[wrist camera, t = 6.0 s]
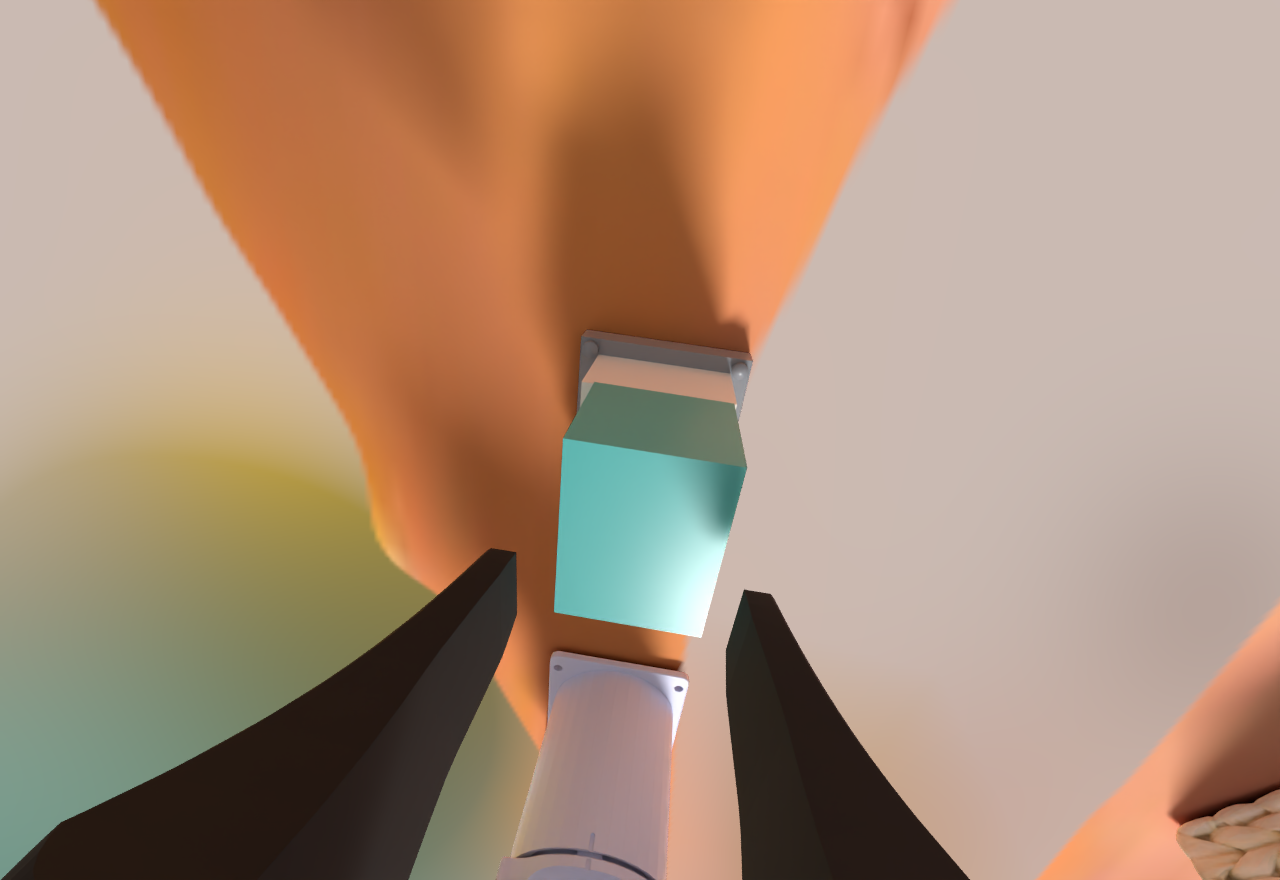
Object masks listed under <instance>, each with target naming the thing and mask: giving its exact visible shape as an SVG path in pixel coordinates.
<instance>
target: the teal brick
mask: <svg viewBox="0 0 1280 880" xmlns="http://www.w3.org/2000/svg"><path fill="white" fill-rule="evenodd" d="M746 470H747V465H746V460H745V455H744V449H743V444H742V439H741V434H740V429H739V424H738V419H737V414H736V409H735V404H734V403H728V402H721V401H715V400H708V399H702V398H696V397H689V396H683V395H676V394H670V393H663V392H657V391H650V390H644V389H637V388H631V387H624V386H618V385H612V384H605V383H599V382H594V383H593V385H592V387H591V389H590V391H589V392H588V394H587V396H586V398H585V400H584V401H583V403H582V405H581V407H580V409H579V411H578V412H577V414H576V416H575V418H574V420H573V421H572V423H571V425H570V427H569V429H568V430H567V432H566V434H565V436H564V438H563V450H562V469H561V488H560V507H559V526H558V545H557V565H556V584H555V603H554V612H556V613H562V614H567V615H573V616H579V617H585V618H590V619H596V620H602V621H608V622H614V623H619V624H625V625H631V626H637V627H642V628H648V629H654V630H660V631H666V632H671V633H677V634H683V635H689V636H695V637H700V638H701V636H702V633H703V629H704V625H705V622H706V618H707V614H708V611H709V607H710V603H711V599H712V596H713V592H714V588H715V585H716V581H717V577H718V574H719V570H720V566H721V562H722V559H723V555H724V551H725V548H726V544H727V540H728V537H729V533H730V529H731V525H732V522H733V518H734V514H735V511H736V507H737V503H738V500H739V496H740V492H741V488H742V485H743V481H744V477H745V473H746Z"/></svg>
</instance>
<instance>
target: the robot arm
mask: <svg viewBox="0 0 1280 880" xmlns="http://www.w3.org/2000/svg"><path fill="white" fill-rule="evenodd" d="M516 615H517V576H516V552H511V551H505V550H499V549H492V548H491V549H489V550H488V551H486V552H485V553H484V554H483V555H482V556H481V557H480V558H479V559H478V560H477V561H475V562H474V563H473V564H472V565H471V566H470V567H469V568H468V569H467V570H466V571H465V572H463V573H462V574H461V575H460V576H459V577H458V578H457V579H456V580H455V581H453V582H452V583H451V584H450V585H449V586H448V587H447V588H446V589H444V590H443V591H442V592H441V593H440V594H439V595H437V596H436V597H435V598H434V599H433V600H432V601H431V602H429V603H428V604H427V605H426V606H425V607H423V608H422V609H421V610H420V611H419V612H417V613H416V614H415V615H414V616H413V617H411V618H410V619H409V620H408V621H406V622H405V623H404V624H402V625H401V626H400V627H399V628H397V629H396V630H395V631H393V632H392V633H391V634H390V635H388V636H387V637H386V638H384V639H383V640H382V641H381V642H379V643H378V644H377V645H375V646H374V647H373V648H371V649H370V650H368V651H367V652H366V653H364V654H363V655H362V656H360V657H359V658H358V659H356V660H355V661H353V662H352V663H350V664H349V665H347V666H346V667H345V668H343V669H342V670H340V671H339V672H337V673H336V674H334V675H333V676H331V677H330V678H328V679H327V680H325V681H324V682H322V683H321V684H319V685H318V686H316V687H315V688H313V689H312V690H310V691H308V692H306V693H305V694H303V695H302V696H300V697H299V698H297V699H295V700H294V701H292V702H291V703H289V704H287V705H286V706H284V707H283V708H281V709H279V710H278V711H276V712H274V713H273V714H271V715H269V716H268V717H266V718H264V719H263V720H261V721H259V722H257V723H256V724H254V725H252V726H250V727H248V728H247V729H245V730H243V731H241V732H239V733H238V734H236V735H234V736H232V737H230V738H229V739H227V740H225V741H223V742H221V743H219V744H218V745H216V746H214V747H212V748H210V749H209V750H207V751H205V752H203V753H201V754H199V755H198V756H196V757H194V758H192V759H190V760H188V761H186V762H185V763H183V764H181V765H179V766H177V767H175V768H173V769H171V770H169V771H167V772H165V773H163V774H161V775H159V776H157V777H155V778H153V779H151V780H149V781H147V782H145V783H143V784H141V785H138V786H136V787H134V788H132V789H130V790H128V791H126V792H124V793H122V794H120V795H118V796H116V797H114V798H112V799H109V800H108V801H105V802H103V803H101V804H99V805H97V806H95V807H93V808H91V809H89V810H87V811H85V812H83V813H80V814H78V815H76V816H74V817H72V818H69V819H67V820H65V821H63V822H61V823H60V824H59V825H57V826H56V827H55V828H54V829H53V830H52V831H51V832H50V833H49V834H48V835H47V836H46V837H45V838H44V839H43V840H41V841H40V842H39V843H38V844H37V845H36V846H35V847H34V848H33V849H32V850H31V851H30V852H29V853H28V854H27V855H26V856H25V857H24V858H23V859H22V860H21V861H19V862H18V863H17V865H15V866H14V867H13V868H12V869H11V870H10V871H9V872H8V873H7V874H6V875H5V876H4V877H3V878H2V879H1V880H408V879H409V876H410V873H411V871H412V868H413V865H414V863H415V860H416V857H417V854H418V852H419V849H420V846H421V843H422V841H423V838H424V835H425V832H426V830H427V827H428V824H429V822H430V819H431V816H432V813H433V811H434V808H435V806H436V803H437V800H438V798H439V795H440V792H441V789H442V787H443V784H444V781H445V779H446V777H447V774H448V772H449V770H450V767H451V765H452V763H453V761H454V758H455V756H456V754H457V751H458V749H459V747H460V745H461V743H462V741H463V739H464V736H465V735H466V733H467V731H468V728H469V726H470V724H471V722H472V720H473V718H474V716H475V714H476V712H477V709H478V707H479V705H480V703H481V701H482V699H483V697H484V695H485V692H486V690H487V688H488V686H489V684H490V682H491V680H492V678H493V676H494V673H495V671H496V669H497V667H498V665H499V663H500V660H501V658H502V656H503V653H504V650H505V648H506V645H507V642H508V639H509V636H510V633H511V630H512V627H513V624H514V621H515V618H516ZM688 685H689V677H688V675H687V674H685V673H684V672H679V671H674V670H668V669H662V668H656V667H650V666H644V665H639V664H633V663H627V662H621V661H615V660H609V659H604V658H598V657H592V656H586V655H580V654H574V653H569V652H563V651H556V652H553V653H552V655H551V659H550V674H549V699H548V724H547V728H546V732H545V735H544V739H543V742H542V746H541V749H540V753H539V757H538V760H537V764H536V768H535V771H534V774H533V778H532V781H531V785H530V789H529V792H528V796H527V799H526V803H525V806H524V810H523V814H522V817H521V821H520V824H519V828H518V831H517V835H516V838H515V842H514V846H513V849H512V853H511V856H510V857H502V859H501V862H500V866H499V869H498V873H497V876H496V879H495V880H666V871H667V847H668V823H669V799H670V775H671V751H672V747H673V743H674V739H675V735H676V732H677V728H678V724H679V720H680V716H681V712H682V708H683V705H684V701H685V697H686V693H687V689H688ZM726 697H727V707H728V716H729V725H730V735H731V743H732V751H733V760H734V769H735V777H736V787H737V794H738V804H739V816H740V827H741V828H740V829H741V851H742V852H741V853H742V880H970V879H969V878H968V877H967V876H966V875H965V874H964V872H963V871H962V870H961V869H960V868H959V866H958V865H957V864H956V863H955V862H954V861H953V859H952V858H951V857H950V856H949V855H948V854H947V853H946V851H945V850H944V849H943V848H942V847H941V845H940V844H939V843H938V842H937V841H936V840H935V838H934V837H933V836H932V835H931V834H930V833H929V831H928V830H927V829H926V828H925V827H924V826H923V824H922V823H921V822H920V821H919V820H918V819H917V817H916V816H915V815H914V814H913V812H912V811H911V810H910V808H909V807H908V806H907V805H906V804H905V802H904V801H903V800H902V799H901V797H900V796H899V795H898V793H897V792H896V791H895V789H894V788H893V787H892V786H891V784H890V783H889V782H888V780H887V779H886V778H885V776H884V775H883V774H882V773H881V771H880V770H879V768H878V767H877V766H876V764H875V763H874V762H873V760H872V759H871V758H870V756H869V755H868V753H867V752H866V751H865V749H864V748H863V746H862V745H861V744H860V742H859V741H858V739H857V738H856V737H855V735H854V734H853V732H852V731H851V729H850V728H849V726H848V725H847V723H846V722H845V720H844V719H843V717H842V716H841V714H840V713H839V711H838V710H837V708H836V706H835V705H834V703H833V702H832V700H831V699H830V697H829V695H828V694H827V692H826V691H825V689H824V687H823V686H822V684H821V683H820V681H819V679H818V677H817V676H816V674H815V673H814V671H813V669H812V667H811V666H810V664H809V663H808V661H807V659H806V657H805V655H804V654H803V652H802V650H801V648H800V647H799V645H798V643H797V641H796V639H795V638H794V636H793V634H792V632H791V630H790V628H789V627H788V625H787V623H786V621H785V619H784V617H783V615H782V613H781V611H780V610H779V607H778V605H777V604H776V602H775V600H774V598H773V597H772V595H771V594H767V593H761V592H754V591H748V590H744V592H743V595H742V598H741V602H740V605H739V608H738V612H737V615H736V618H735V621H734V625H733V628H732V632H731V635H730V638H729V641H728V645H727V648H726Z"/></svg>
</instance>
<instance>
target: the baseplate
mask: <svg viewBox="0 0 1280 880" xmlns="http://www.w3.org/2000/svg"><path fill="white" fill-rule="evenodd" d="M598 355H606V356H613V357H620V358H627V359H634V360H640V361H647V362H654V363H661V364H668V365H675V366H682V367H688V368H695V369H702V370H709V371H716V372H723V373H729V374H731V378H732V383H733V388H734V393H735V397H736V402H737V407H736V414H737V419H738V421H739V417H740V413H741V409H742V405H743V400H744V396H745V392H746V388H747V384H748V379H749V375H750V371H751V367H752V363H753V360H752V357H751V354H750V353H746V352H739V351H732V350H725V349H718V348H711V347H704V346H697V345H690V344H683V343H676V342H670V341H663V340H656V339H649V338H642V337H635V336H628V335H621V334H614V333H607V332H600V331H593V330H586V331H585V332H584V334H583V335H582V336H581V350H580V367H579V384H578V401H577V412H578V411H579V409H580V399H581V383H582V380H583V379H584V377H585V375H586V374H587V372H588V371H589V369H590V367H591V366H592V364H593V363H594V361H595V359H596V358H597V356H598Z"/></svg>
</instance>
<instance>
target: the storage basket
mask: <svg viewBox="0 0 1280 880" xmlns="http://www.w3.org/2000/svg"><path fill="white" fill-rule="evenodd" d="M1176 840H1177V842H1178V844H1179V846H1180V848H1181V849H1182V850H1183V852H1184V853H1185V854H1186V855H1187V857H1188V858H1189V859H1190V860H1191V861H1192V863H1193V865H1194V867H1195V869H1196V871H1197V872H1198V874H1199V875H1200V877H1201V878H1202V880H1280V789H1279V790H1275V791H1273V792H1271V793H1269V794H1267V795H1265V796H1263V797H1261V798H1259V799H1257V800H1256V801H1255V802H1254V803H1249V804H1235V805H1232V806H1229V807H1226V808H1224V809H1222V810H1220V811H1218V812H1217V813H1216V814H1215V815H1214V816H1213V817H1210V816H1207V817H1203V818H1199V819H1195V820H1192V821H1189V822H1186V823H1184V824H1183V825H1182V826H1180V827H1179V828H1178V829H1177V834H1176Z"/></svg>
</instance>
